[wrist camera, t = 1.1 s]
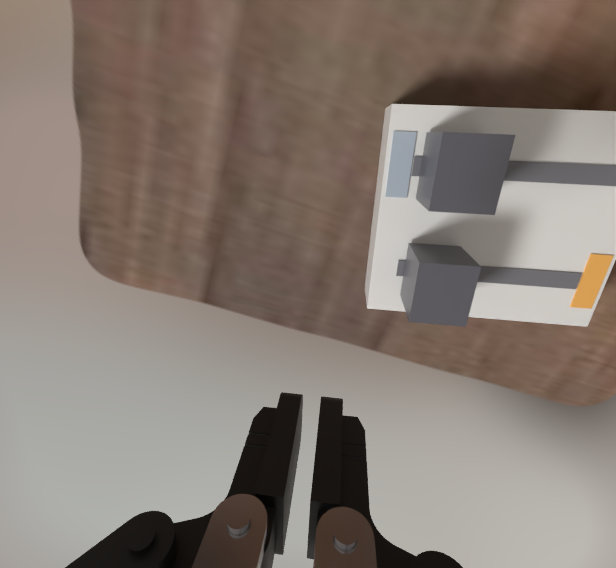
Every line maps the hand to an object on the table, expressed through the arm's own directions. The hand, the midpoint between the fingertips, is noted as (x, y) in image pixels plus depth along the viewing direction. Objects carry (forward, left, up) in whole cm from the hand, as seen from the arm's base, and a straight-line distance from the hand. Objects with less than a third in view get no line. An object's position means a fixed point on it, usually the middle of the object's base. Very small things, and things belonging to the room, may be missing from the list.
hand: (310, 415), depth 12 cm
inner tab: (-10, 0, -15) cm, 18 cm away
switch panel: (-10, +5, -19) cm, 22 cm away
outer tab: (-5, +5, -15) cm, 16 cm away
